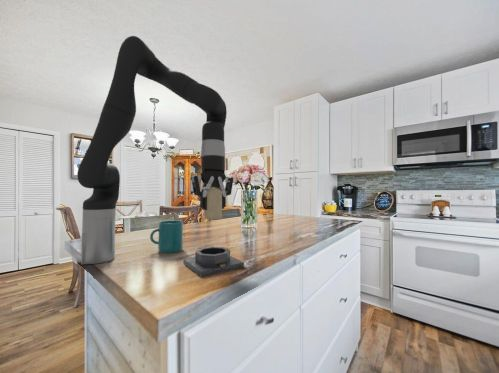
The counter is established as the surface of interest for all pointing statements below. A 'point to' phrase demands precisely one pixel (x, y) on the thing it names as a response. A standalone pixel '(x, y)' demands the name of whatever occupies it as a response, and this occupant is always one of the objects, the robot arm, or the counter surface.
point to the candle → (213, 204)
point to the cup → (169, 236)
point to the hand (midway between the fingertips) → (213, 208)
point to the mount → (212, 261)
